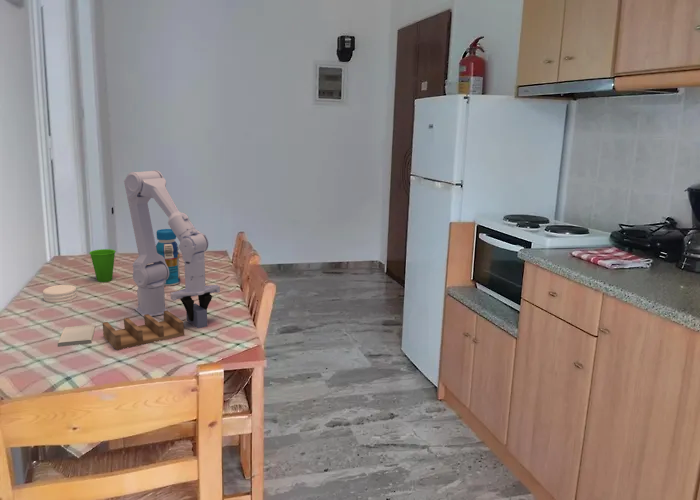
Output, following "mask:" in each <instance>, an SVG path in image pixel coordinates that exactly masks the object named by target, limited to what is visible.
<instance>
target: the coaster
mask: <svg viewBox="0 0 700 500" xmlns="http://www.w3.org/2000/svg"><path fill="white" fill-rule="evenodd" d="M42 295H43V296H42V297H43V302H47V303H64V302H69V301H72V300H74V299H77V295H78V294H77V287H76V286H74V285H72V284H60V285H59V284H58V285H53V286H48V287H46V288H44V289H43V290H42Z"/></svg>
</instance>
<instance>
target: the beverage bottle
mask: <svg viewBox="0 0 700 500" xmlns="http://www.w3.org/2000/svg"><path fill="white" fill-rule="evenodd" d="M155 234H156V240H157V241H158V242H157V243H156V249H157V253H158V254H160V255H161V256H163V257H164V258H165V262H166V265H167V266H168V268H169V277H168V279H167V280H166V283H165V284H164V287H171V286H177V285H178V284H180V283H181V277H180V276H181V275H180V272H181V271H180V253H179V251H180V249H179V244H178V243H177V242H176V239H177V237H176V235H175V234H174V232H173V231H172V229H171V228H163V229H157V230H156V233H155Z"/></svg>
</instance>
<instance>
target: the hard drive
mask: <svg viewBox="0 0 700 500" xmlns="http://www.w3.org/2000/svg"><path fill="white" fill-rule="evenodd" d="M95 330H96V325H95V324H87V325H86V324H85V325H75V326H65V327H63V329H62V332H61V334H60V337H59V340H58V341H57V348H58V347H68V346H78V345H79V344H80V345H89V344H92V343H93V340H94V334H95Z"/></svg>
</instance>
